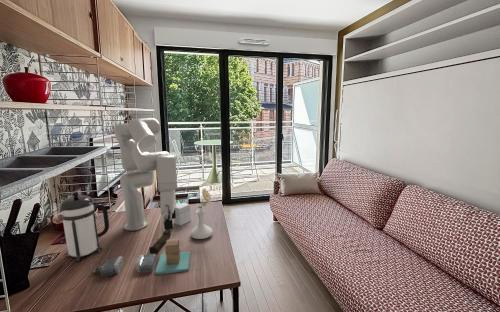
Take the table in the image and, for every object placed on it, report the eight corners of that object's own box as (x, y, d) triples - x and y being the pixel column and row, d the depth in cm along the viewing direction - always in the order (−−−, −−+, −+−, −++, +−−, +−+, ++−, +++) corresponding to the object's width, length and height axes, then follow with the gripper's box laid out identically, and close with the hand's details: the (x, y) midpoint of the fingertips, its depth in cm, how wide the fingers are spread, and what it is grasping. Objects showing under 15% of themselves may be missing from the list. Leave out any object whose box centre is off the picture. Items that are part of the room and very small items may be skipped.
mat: (161, 256, 115) (160, 254, 115) (190, 253, 117) (190, 251, 117) (155, 274, 103) (155, 272, 102) (188, 270, 105) (188, 268, 105)
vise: (99, 265, 109) (98, 257, 108) (156, 259, 113) (155, 251, 112) (91, 277, 101) (90, 268, 100) (152, 271, 105) (151, 262, 104)
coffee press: (97, 260, 113) (88, 196, 107) (57, 264, 110) (46, 199, 105) (111, 240, 130) (104, 184, 124) (77, 243, 127) (68, 186, 121)
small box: (185, 218, 155) (183, 202, 153) (191, 220, 151) (190, 204, 149) (174, 223, 148) (172, 206, 146) (180, 225, 145) (179, 208, 143)
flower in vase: (203, 243, 126) (200, 195, 121) (186, 237, 131) (183, 192, 127) (218, 232, 137) (217, 187, 132) (202, 227, 143) (200, 184, 138)
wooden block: (168, 258, 112) (166, 239, 110) (180, 257, 113) (178, 238, 111) (166, 265, 107) (165, 245, 105) (179, 263, 108) (177, 244, 106)
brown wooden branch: (157, 255, 117) (156, 246, 116) (149, 254, 117) (148, 245, 116) (175, 235, 135) (175, 227, 134) (168, 234, 136) (168, 226, 135)
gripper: (161, 179, 111) (164, 215, 115) (153, 192, 94) (157, 234, 98) (179, 178, 112) (181, 214, 116) (174, 191, 96) (177, 233, 99)
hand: (170, 223), depth 107 cm, fingers open, 9 cm apart
